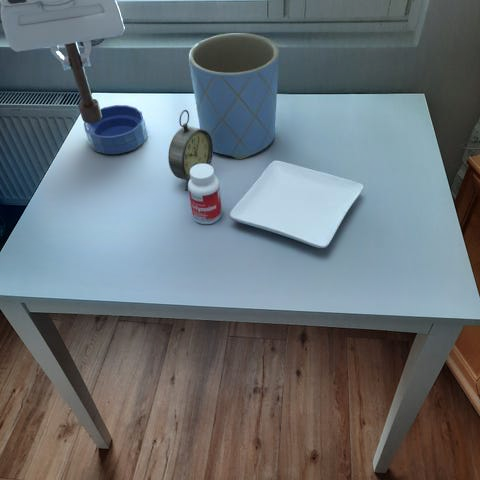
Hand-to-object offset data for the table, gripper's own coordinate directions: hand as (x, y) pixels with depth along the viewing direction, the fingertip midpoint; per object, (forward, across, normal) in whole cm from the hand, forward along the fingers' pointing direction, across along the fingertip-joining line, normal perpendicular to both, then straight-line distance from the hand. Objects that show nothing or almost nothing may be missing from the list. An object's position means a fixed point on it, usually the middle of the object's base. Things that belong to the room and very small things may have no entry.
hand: (77, 67), depth 88 cm
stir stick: (+10, 0, 0) cm, 10 cm away
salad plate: (+24, -36, +26) cm, 50 cm away
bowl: (+24, -4, -15) cm, 29 cm away
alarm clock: (+24, -18, +8) cm, 31 cm away
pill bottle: (+24, -18, +20) cm, 37 cm away
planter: (+24, -32, -4) cm, 40 cm away
